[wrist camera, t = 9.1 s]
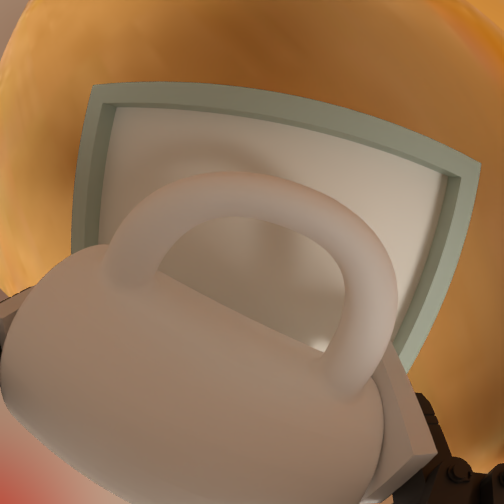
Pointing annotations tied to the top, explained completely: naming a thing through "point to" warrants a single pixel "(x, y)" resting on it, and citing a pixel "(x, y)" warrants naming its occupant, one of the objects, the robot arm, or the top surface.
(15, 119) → the top surface
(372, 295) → the mug
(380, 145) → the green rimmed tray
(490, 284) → the top surface
